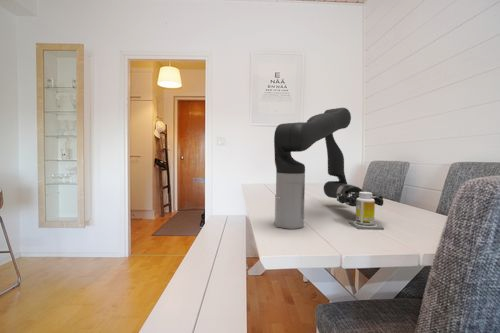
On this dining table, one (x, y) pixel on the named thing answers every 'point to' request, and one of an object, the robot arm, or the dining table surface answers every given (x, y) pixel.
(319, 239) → the dining table surface
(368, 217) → the supplement bottle
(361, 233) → the dining table surface
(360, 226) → the slate tile
